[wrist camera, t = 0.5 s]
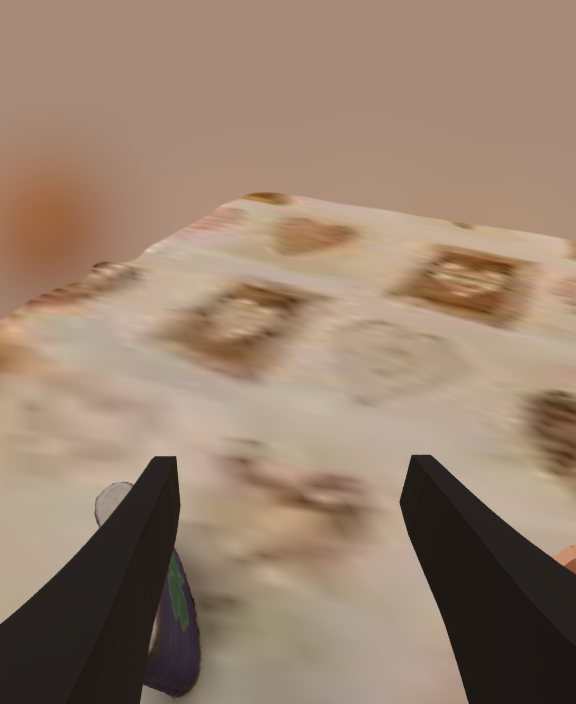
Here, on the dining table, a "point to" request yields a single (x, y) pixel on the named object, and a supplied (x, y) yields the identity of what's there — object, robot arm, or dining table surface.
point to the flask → (165, 618)
